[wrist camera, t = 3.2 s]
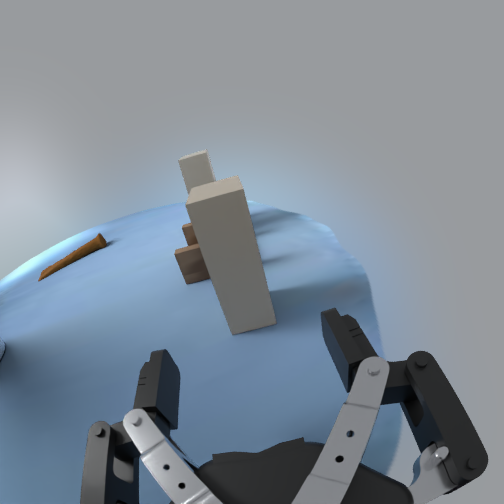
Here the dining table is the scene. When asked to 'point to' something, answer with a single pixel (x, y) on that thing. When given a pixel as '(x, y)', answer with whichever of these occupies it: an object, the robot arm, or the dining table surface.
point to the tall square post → (196, 169)
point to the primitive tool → (75, 255)
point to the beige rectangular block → (231, 253)
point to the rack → (191, 258)
